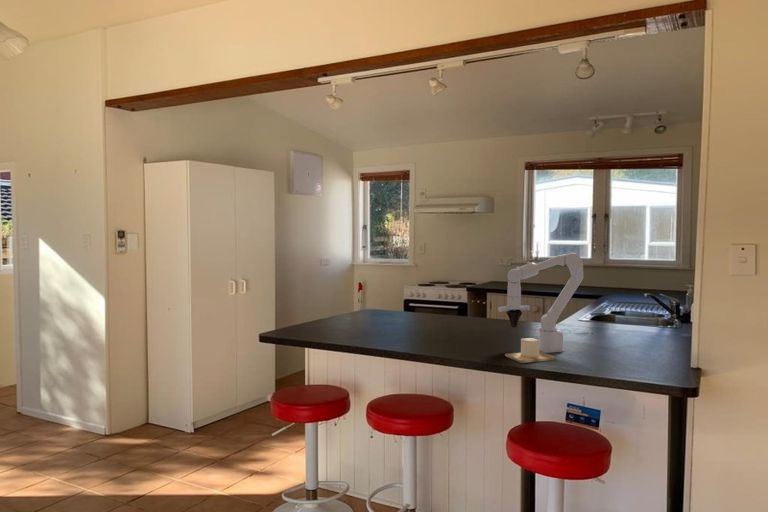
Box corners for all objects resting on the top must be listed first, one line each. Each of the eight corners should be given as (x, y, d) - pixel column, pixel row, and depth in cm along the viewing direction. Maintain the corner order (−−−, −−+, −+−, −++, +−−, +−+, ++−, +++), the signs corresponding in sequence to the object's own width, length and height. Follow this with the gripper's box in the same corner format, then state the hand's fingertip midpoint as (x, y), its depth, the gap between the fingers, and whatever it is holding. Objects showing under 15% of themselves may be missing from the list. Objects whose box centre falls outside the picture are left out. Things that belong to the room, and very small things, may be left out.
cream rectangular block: (531, 353, 225) (531, 337, 225) (539, 356, 220) (539, 340, 220) (520, 354, 223) (520, 338, 223) (528, 357, 218) (528, 341, 218)
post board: (539, 353, 230) (539, 339, 229) (555, 359, 218) (556, 345, 218) (505, 356, 225) (505, 341, 225) (520, 362, 214) (520, 347, 213)
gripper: (523, 294, 245) (523, 324, 245) (494, 296, 240) (494, 326, 241) (532, 296, 238) (532, 327, 239) (502, 297, 234) (502, 329, 234)
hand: (513, 327), depth 239 cm, fingers closed
